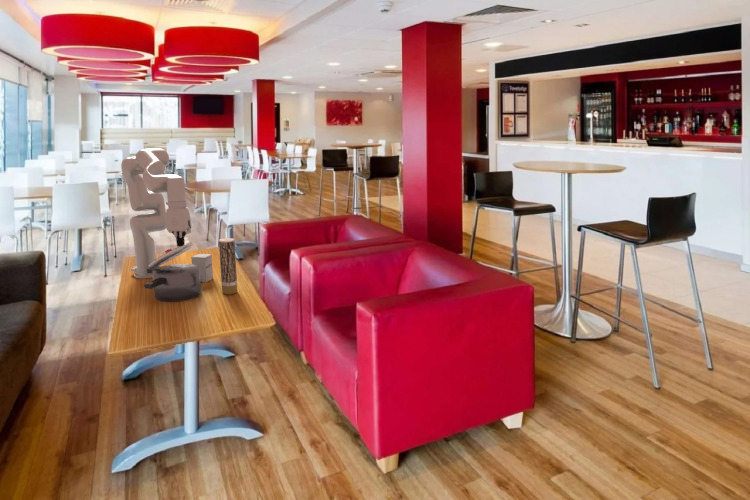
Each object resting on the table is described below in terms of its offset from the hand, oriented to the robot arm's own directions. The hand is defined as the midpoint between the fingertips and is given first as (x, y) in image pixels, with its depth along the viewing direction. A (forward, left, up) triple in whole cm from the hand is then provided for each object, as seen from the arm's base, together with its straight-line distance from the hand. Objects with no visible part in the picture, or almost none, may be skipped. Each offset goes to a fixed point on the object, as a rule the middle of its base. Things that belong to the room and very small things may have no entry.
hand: (180, 245), depth 243 cm
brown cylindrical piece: (+18, +9, -23) cm, 31 cm away
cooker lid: (-5, 0, -5) cm, 7 cm away
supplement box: (-5, +24, -23) cm, 34 cm away
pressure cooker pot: (-5, -5, -23) cm, 24 cm away
